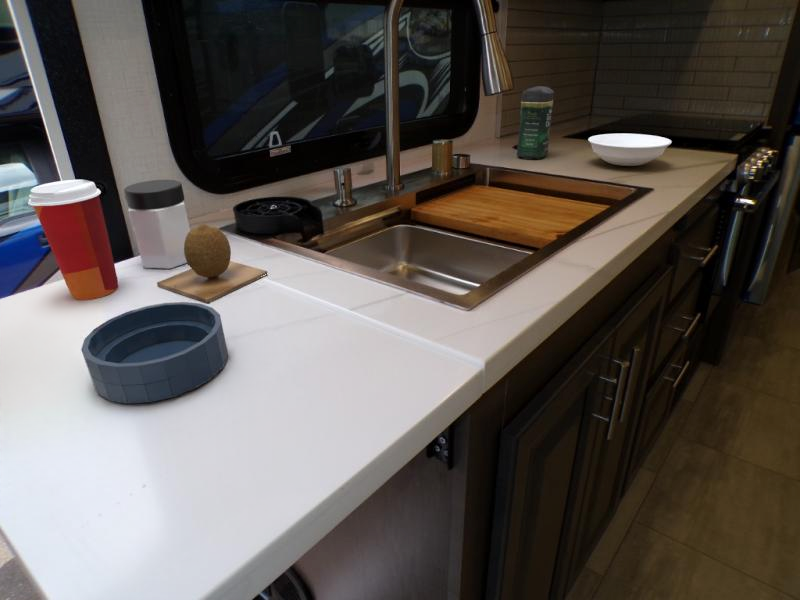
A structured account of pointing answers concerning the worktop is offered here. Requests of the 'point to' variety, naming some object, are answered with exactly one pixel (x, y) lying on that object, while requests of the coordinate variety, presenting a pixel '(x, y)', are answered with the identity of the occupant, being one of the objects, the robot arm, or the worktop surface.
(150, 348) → the glazed bowl
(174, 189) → the jar
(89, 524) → the worktop surface
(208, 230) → the fruit
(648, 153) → the bowl
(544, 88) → the green canister
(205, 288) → the board
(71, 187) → the coffee cup
